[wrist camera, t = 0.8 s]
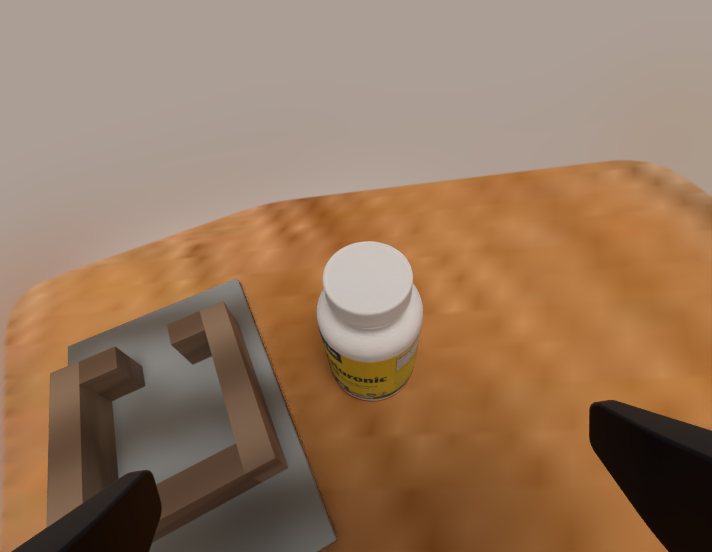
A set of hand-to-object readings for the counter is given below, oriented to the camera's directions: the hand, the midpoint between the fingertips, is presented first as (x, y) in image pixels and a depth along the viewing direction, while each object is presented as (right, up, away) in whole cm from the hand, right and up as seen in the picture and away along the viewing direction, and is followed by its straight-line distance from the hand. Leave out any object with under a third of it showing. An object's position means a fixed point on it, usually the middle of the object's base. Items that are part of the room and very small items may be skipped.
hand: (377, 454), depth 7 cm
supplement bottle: (+1, -2, +16) cm, 17 cm away
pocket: (-11, -6, +14) cm, 19 cm away
